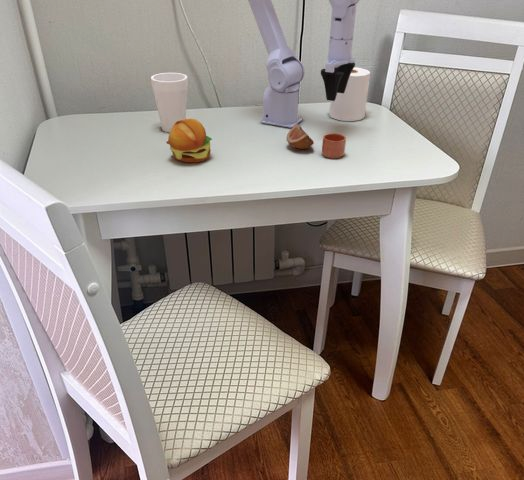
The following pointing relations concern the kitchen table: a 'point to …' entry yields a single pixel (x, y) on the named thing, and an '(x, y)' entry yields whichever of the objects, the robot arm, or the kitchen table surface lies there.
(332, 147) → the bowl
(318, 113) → the kitchen table surface
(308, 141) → the fruit slice
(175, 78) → the foam cup
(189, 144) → the cheeseburger
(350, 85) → the toilet paper
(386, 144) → the kitchen table surface
